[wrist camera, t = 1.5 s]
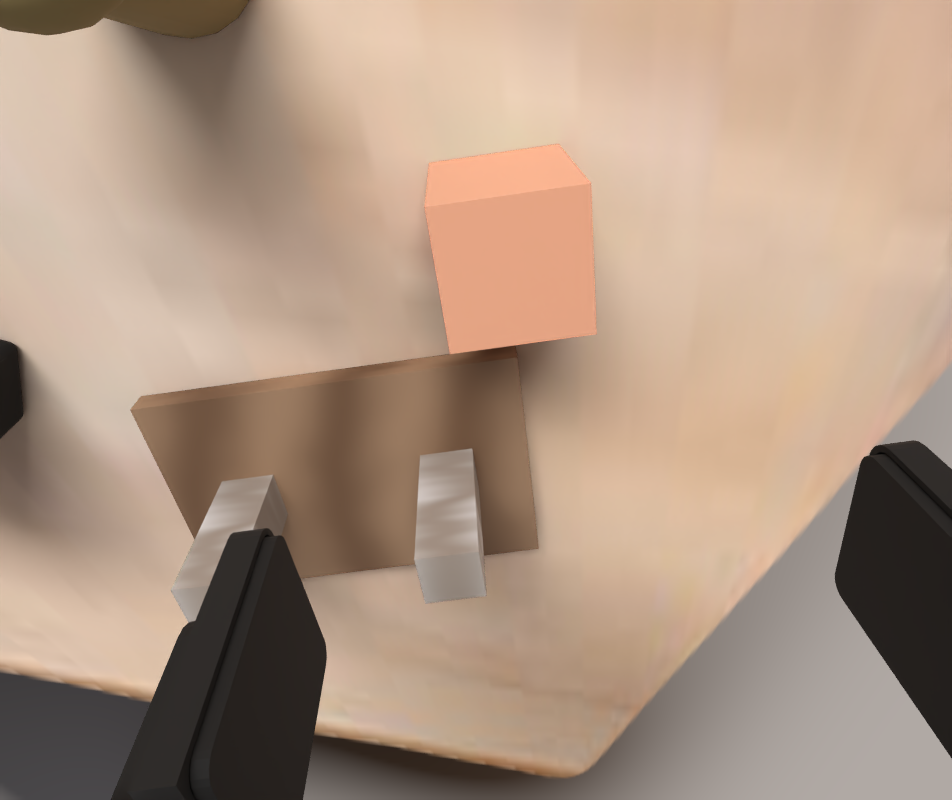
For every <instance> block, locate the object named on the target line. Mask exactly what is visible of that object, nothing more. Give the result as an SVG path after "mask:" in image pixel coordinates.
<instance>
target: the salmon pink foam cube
mask: <svg viewBox="0 0 952 800" xmlns="http://www.w3.org/2000/svg"><path fill="white" fill-rule="evenodd" d="M425 213H426V219H427V224H428V230H429V236H430V242H431V247H432V253H433V259H434V265H435V271H436V276H437V282H438V288H439V294H440V299H441V305H442V311H443V317H444V323H445V328H446V334H447V340H448V346H449V351H450V354H455V353H462V352H470V351H477V350H484V349H492V348H499V347H506V346H513V345H521V344H528V343H535V342H543V341H550V340H557V339H565V338H572V337H579V336H587V335H594V334H597V333H596V305H595V277H594V249H593V221H592V194H591V182H590V181H589V180H588V179H587V178H586V176H585V175H584V174H583V173H582V171H581V170H580V169H579V168H578V167H577V165H576V164H575V163H574V162H573V161H572V159H571V158H570V157H569V156H568V155H567V153H566V152H565V151H564V150H563V148H562V147H561V146H560V145H559V144H555V145H548V146H541V147H535V148H528V149H521V150H514V151H507V152H501V153H494V154H487V155H480V156H473V157H467V158H460V159H453V160H446V161H439V162H433V163H429V168H428V178H427V188H426V198H425Z"/></svg>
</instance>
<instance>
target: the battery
mask: <svg viewBox="0 0 952 800" xmlns="http://www.w3.org/2000/svg"><path fill="white" fill-rule="evenodd" d="M22 416H23V406H22V396H21V385H20V375H19V365H18V355H17V349H16V347H15V345H14V344H12V343H11V342H8V341H4V340H0V438H1V437H3V436H4V435H5V434H6V433H7V432H8V431H9V430H10V429H11V428H12V427H13V426H14V425H15V424H16V423H17V422H18V421H19V420H20V419H21V418H22Z"/></svg>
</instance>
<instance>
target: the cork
mask: <svg viewBox="0 0 952 800" xmlns="http://www.w3.org/2000/svg"><path fill="white" fill-rule="evenodd" d="M248 1H249V0H0V27H2V28H5V29H7V30H11V31H19V32H26V33H34V34H41V35H54V34H61V33H66V32H70V31H74V30H79V29H83V28H87V27H91V26H93V25H95V24H96V23H97V22H99V21H100V20H101V19H103V18H107V19H110V20H114V21H117V22H121V23H125V24H128V25H132V26H135V27H139V28H142V29H146V30H149V31H153V32H156V33H160V34H163V35H169V36H177V37H184V38H191V39H192V38H196V37H201V36H205V35H209V34H214V33H217V32H219V31H220V30H222V29H223V28H224V27H226V26H227V25H229V24H230V23H231V22H233V21H234V20H236V19H237V18H238V17H239V15H240V14H241V12H242V11H243V9H244V8H245V6H246V5H247V3H248Z"/></svg>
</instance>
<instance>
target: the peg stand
mask: <svg viewBox="0 0 952 800" xmlns="http://www.w3.org/2000/svg"><path fill="white" fill-rule="evenodd" d="M131 412H132V414H133V416H134V418H135V420H136V422H137V425H138V427H139V429H140V431H141V433H142V435H143V437H144V439H145V441H146V443H147V445H148V447H149V449H150V451H151V453H152V455H153V457H154V459H155V461H156V463H157V465H158V467H159V469H160V471H161V473H162V475H163V477H164V479H165V481H166V483H167V485H168V487H169V489H170V491H171V493H172V495H173V497H174V499H175V501H176V503H177V505H178V507H179V509H180V511H181V513H182V515H183V517H184V519H185V521H186V523H187V525H188V527H189V529H190V531H191V533H192V535H193V537H194V539H195V540H194V542H193V544H192V546H191V548H190V551H189V553H188V555H187V557H186V559H185V561H184V563H183V566H182V568H181V570H180V572H179V574H178V576H177V578H176V580H175V583H174V585H173V587H172V589H171V592H172V594H173V595H174V597H175V599H176V601H177V603H178V604H179V606H180V608H181V610H182V612H183V613H184V615H185V617H186V619H187V621H188V622H192V621H195V620H196V618H197V615H198V613H199V610H200V608H201V605H202V603H203V600H204V597H205V595H206V592H207V590H208V587H209V585H210V582H211V580H212V577H213V575H214V572H215V570H216V567H217V565H218V562H219V560H220V557H221V555H222V552H223V550H224V547H225V545H226V542H227V540H228V538H229V536H230V535H231V534H232V533H233V532H241V531H248V530H255V529H263V528H269V529H270V530H271V531H272V533H273V535H274V536H278V535H282V536H283V537H284V539H285V541H286V543H287V546H288V548H289V551H290V554H291V556H292V559H293V561H294V564H295V566H296V569H297V571H298V574H299V576H300V578H308V577H316V576H324V575H332V574H340V573H348V572H355V571H363V570H371V569H379V568H387V567H395V566H403V565H411V564H415V565H416V569H417V572H418V576H419V580H420V584H421V588H422V592H423V596H424V600H425V604H427V603H435V602H443V601H451V600H459V599H467V598H475V597H483V596H487V594H486V580H485V566H484V555H491V554H499V553H507V552H514V551H522V550H530V549H538V548H539V547H538V538H537V529H536V520H535V511H534V502H533V493H532V484H531V475H530V466H529V456H528V447H527V438H526V429H525V420H524V411H523V402H522V393H521V384H520V375H519V366H518V357H517V352H516V347H515V345H514V346H506V347H499V348H492V349H485V350H477V351H470V352H463V353H455V354H448V355H441V356H433V357H426V358H419V359H411V360H404V361H397V362H390V363H382V364H375V365H368V366H360V367H353V368H346V369H338V370H331V371H324V372H316V373H309V374H302V375H294V376H287V377H280V378H273V379H265V380H258V381H251V382H243V383H236V384H229V385H221V386H214V387H207V388H199V389H192V390H185V391H178V392H170V393H163V394H156V395H148V396H141V397H140V398H139V400H138V401H137V402H136V403H135V405H134V406H133V407H132V408H131Z"/></svg>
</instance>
